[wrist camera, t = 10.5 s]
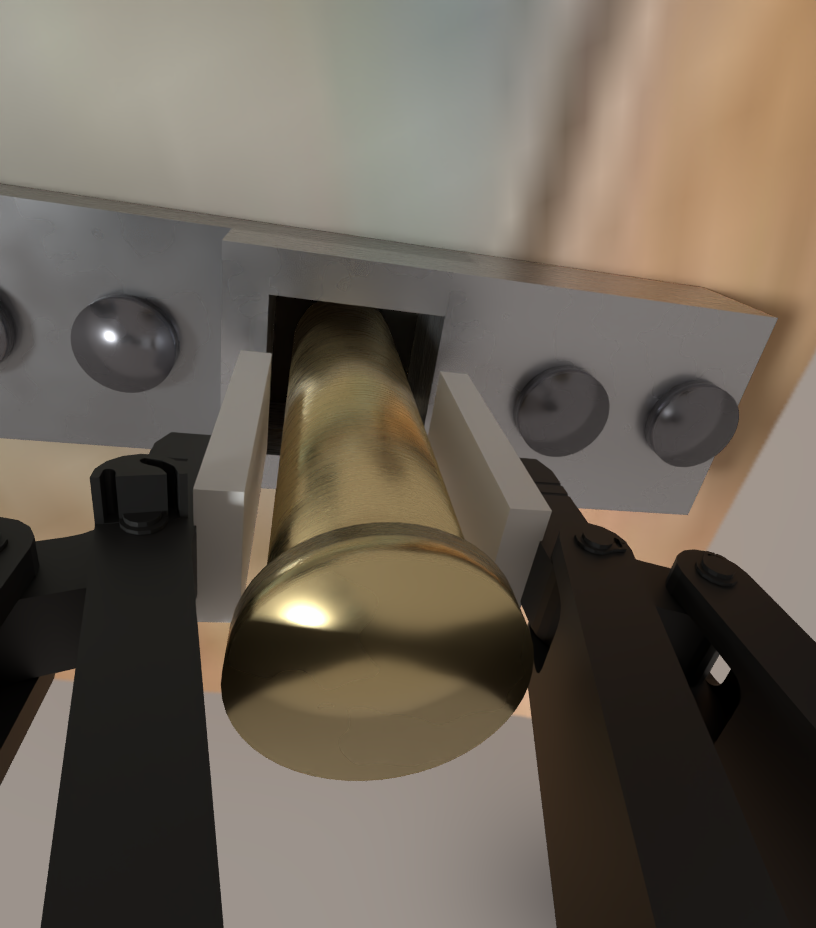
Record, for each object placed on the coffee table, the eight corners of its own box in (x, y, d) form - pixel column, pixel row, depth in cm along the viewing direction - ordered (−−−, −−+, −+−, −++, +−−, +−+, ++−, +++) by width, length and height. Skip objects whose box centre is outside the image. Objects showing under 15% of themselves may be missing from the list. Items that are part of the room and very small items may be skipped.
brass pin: (278, 393, 21) (220, 784, 9) (285, 274, 19) (222, 553, 7) (393, 403, 22) (496, 776, 9) (410, 290, 20) (571, 568, 7)
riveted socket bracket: (-42, 406, 20) (-132, 475, 16) (-94, 169, 16) (-225, 182, 12) (635, 460, 25) (696, 524, 21) (703, 287, 21) (791, 323, 17)
